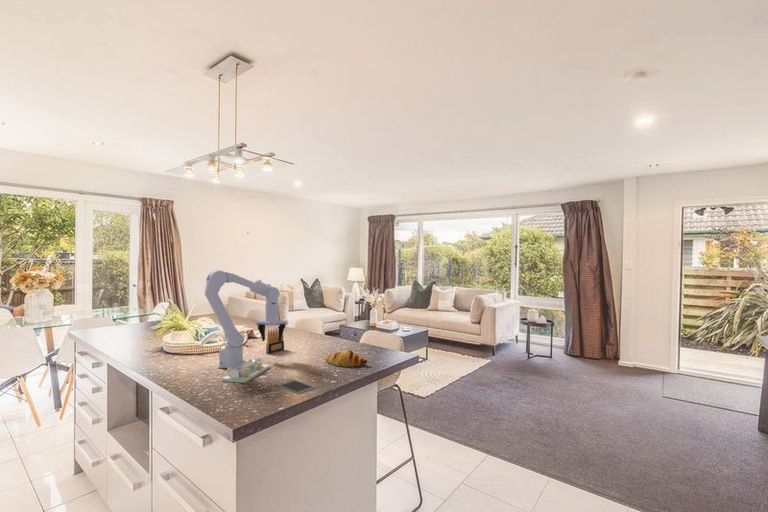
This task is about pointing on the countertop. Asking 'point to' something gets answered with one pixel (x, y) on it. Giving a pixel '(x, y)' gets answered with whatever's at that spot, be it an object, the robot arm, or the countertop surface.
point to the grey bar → (240, 369)
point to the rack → (246, 373)
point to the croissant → (346, 359)
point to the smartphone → (295, 386)
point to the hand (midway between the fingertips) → (271, 340)
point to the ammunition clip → (274, 342)
